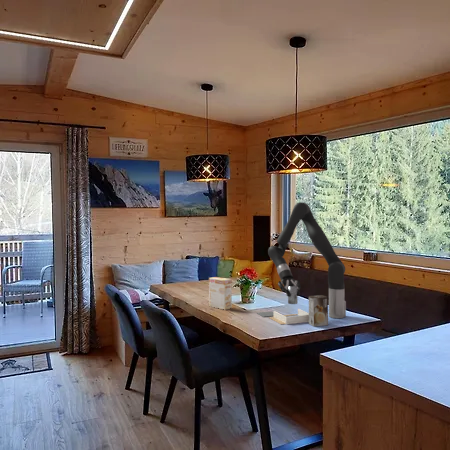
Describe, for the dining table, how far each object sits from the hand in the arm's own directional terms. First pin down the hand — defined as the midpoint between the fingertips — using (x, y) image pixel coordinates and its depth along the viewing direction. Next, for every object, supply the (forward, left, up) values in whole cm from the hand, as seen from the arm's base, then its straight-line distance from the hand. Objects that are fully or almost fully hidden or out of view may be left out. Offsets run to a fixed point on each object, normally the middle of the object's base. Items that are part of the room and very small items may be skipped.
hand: (294, 295), depth 254 cm
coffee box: (-8, +14, -15) cm, 22 cm away
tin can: (0, -2, -5) cm, 5 cm away
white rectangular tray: (0, -2, -14) cm, 15 cm away
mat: (+9, -17, -14) cm, 24 cm away
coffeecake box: (+30, -46, -15) cm, 57 cm away
